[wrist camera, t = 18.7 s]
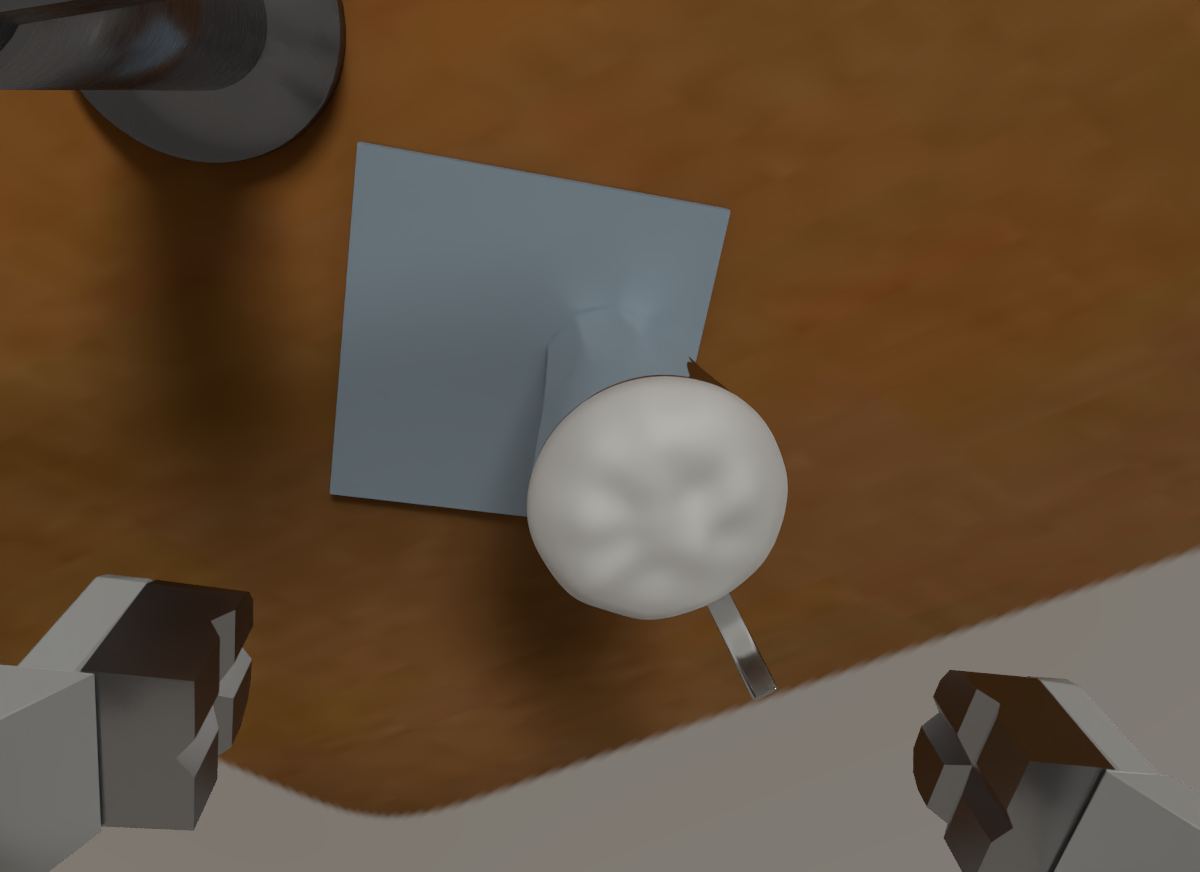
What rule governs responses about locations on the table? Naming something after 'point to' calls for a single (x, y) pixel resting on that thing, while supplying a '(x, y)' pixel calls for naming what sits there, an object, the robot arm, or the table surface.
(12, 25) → the lever
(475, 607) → the table surface
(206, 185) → the table surface
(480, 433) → the pad
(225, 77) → the latch post
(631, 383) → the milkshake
